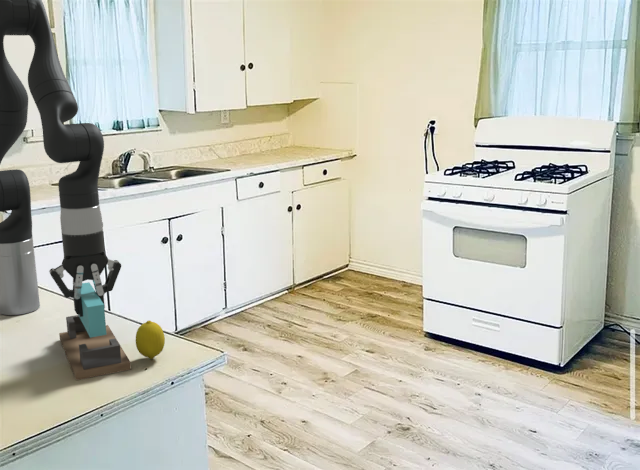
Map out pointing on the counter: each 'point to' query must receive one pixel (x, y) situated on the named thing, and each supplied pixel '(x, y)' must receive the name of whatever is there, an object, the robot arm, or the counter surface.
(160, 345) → the lemon
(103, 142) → the robot arm
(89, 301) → the slat
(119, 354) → the slat frame
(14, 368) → the counter surface
